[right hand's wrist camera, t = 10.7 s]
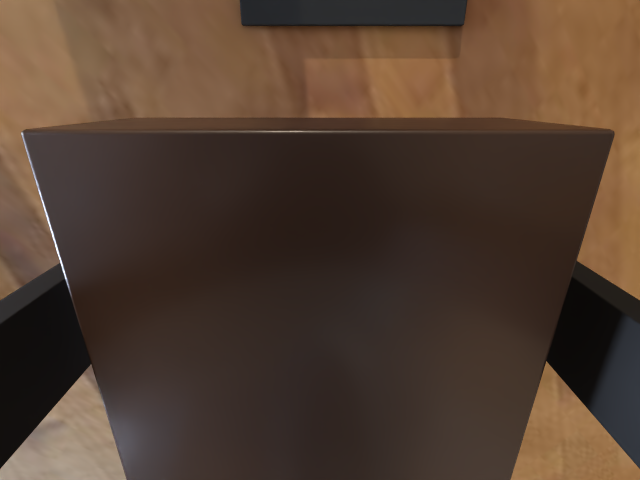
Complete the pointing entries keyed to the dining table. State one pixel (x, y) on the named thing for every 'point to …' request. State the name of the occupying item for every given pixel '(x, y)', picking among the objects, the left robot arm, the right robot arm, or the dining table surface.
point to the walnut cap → (318, 286)
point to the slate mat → (353, 12)
